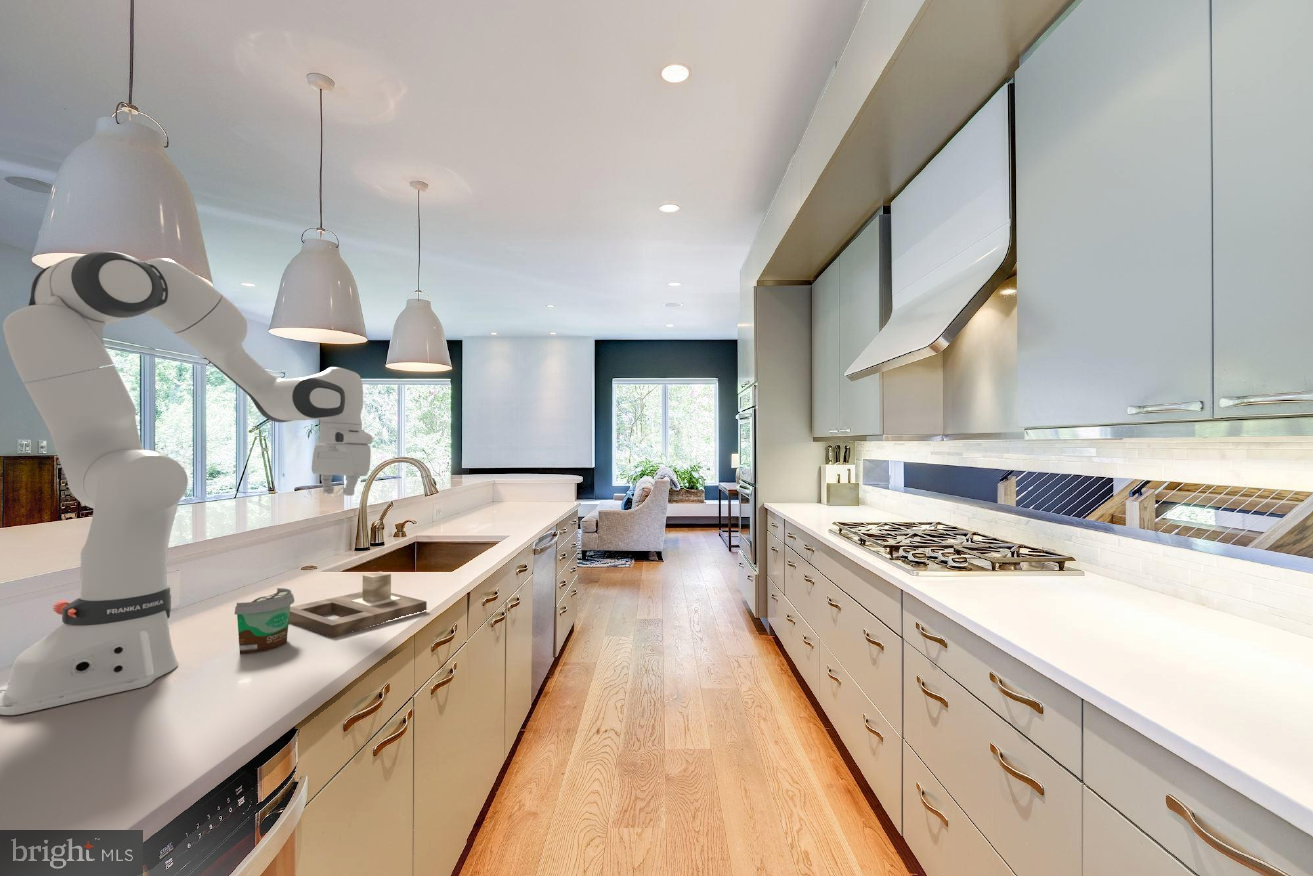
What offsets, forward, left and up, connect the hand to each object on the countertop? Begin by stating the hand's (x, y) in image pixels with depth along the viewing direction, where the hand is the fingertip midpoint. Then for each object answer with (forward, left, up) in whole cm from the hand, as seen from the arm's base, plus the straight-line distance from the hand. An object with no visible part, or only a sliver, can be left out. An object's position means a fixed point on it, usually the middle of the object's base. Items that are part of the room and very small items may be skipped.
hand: (338, 494), depth 135 cm
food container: (-18, -11, -28) cm, 36 cm away
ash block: (+7, -5, -26) cm, 27 cm away
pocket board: (+2, -5, -28) cm, 29 cm away
